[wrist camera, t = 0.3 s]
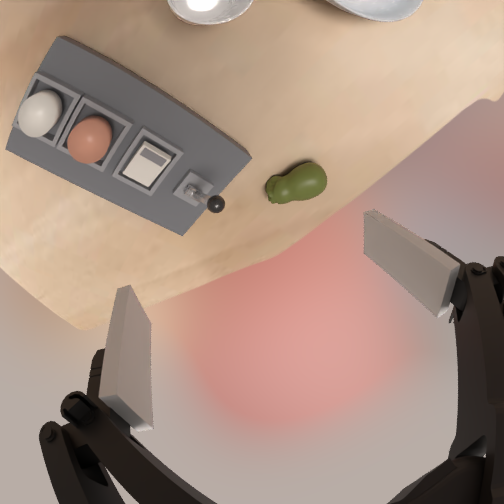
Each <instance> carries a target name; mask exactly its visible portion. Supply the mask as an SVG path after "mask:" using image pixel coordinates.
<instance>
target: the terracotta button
mask: <svg viewBox="0 0 504 504" xmlns="http://www.w3.org/2000/svg"><path fill="white" fill-rule="evenodd" d="M111 140H112V128H111V126H110V124H109V122H108V121H107V120H106V119H104V118H103V117H100V116H94V115H93V116H88V117H85V118H84V119H82V120H81V121H80V122H79V123H78V124H77V125H76V126H75V127H74V129H73V130H72V131H71V133H70V134H69V137H68V142H67V145H68V150H69V153H70V154H71V156H72V157H73V158H74V159H75V160H77V161H78V162H81V163H85V164H90V163H94V162H97V161H98V160H100V159H101V158H102V157H103V156H104V155H105V153H106V152H107V149H108V147H109V145H110V143H111Z"/></svg>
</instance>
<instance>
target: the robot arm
mask: <svg viewBox="0 0 504 504" xmlns="http://www.w3.org/2000/svg"><path fill="white" fill-rule="evenodd" d="M364 254H365V255H366V256H368V257H369V258H370V259H371V260H373V261H374V262H375V263H376V264H377V265H378V266H380V267H381V268H382V269H383V270H384V271H385V272H386V273H388V274H389V275H390V276H391V277H392V278H393V279H395V280H396V281H397V282H398V283H399V284H400V285H402V287H404V288H405V289H406V290H407V291H408V292H409V293H410V294H411V295H413V296H414V297H415V298H416V299H417V300H418V301H419V302H420V303H421V304H422V305H423V306H425V307H426V308H427V309H428V310H429V311H430V312H431V313H432V314H433V315H434V316H435V317H436V318H438V317H440V316H441V315H443V314H444V313H446V312H447V310H448V307H449V304H450V302H451V303H452V304H453V305H454V307H453V310H452V313H451V316H450V319H449V323H451V321H452V318H453V317H454V322H453V323H454V325H455V335H456V346H457V359H458V360H457V361H458V415H457V430H456V436H455V439H454V441H453V443H452V445H451V448H450V451H449V456H448V459H447V460H446V461H444V462H443V463H442V464H440V465H439V466H437V467H436V468H434V469H433V470H431V471H430V472H428V473H427V474H425V475H423V476H422V477H421V478H419V479H418V480H416V481H415V482H413V483H412V484H410V485H409V486H407V487H405V488H404V489H403V490H402V491H401V492H400V493H399V494H397V495H396V496H395V497H394V498H393V499H392V500H391V501H390V502H389V503H387V504H504V257H503V256H499V257H496V258H495V260H494V264H493V266H491V267H487V268H486V267H484V266H483V265H481V264H479V263H474V262H472V263H469V264H465V263H464V262H462V261H461V260H460V259H458V258H457V257H455V256H454V255H452V254H451V253H449V252H447V251H446V250H445V249H443V248H441V247H440V246H439V245H438V244H436V243H434V242H432V241H429V240H426V239H422V238H421V237H419V236H418V235H416V234H415V233H413V232H411V231H410V230H408V229H407V228H405V227H403V226H402V225H400V224H398V223H397V222H395V221H393V220H392V219H390V218H388V217H387V216H385V215H383V214H382V213H380V212H378V211H376V210H375V209H373V210H370V211H366V212H364ZM89 376H90V378H89V382H88V388H87V395H85V394H84V393H83V392H80V391H75V392H71V393H70V394H68V395H67V396H66V397H65V399H64V400H63V402H62V404H61V414H62V417H64V418H65V419H66V420H67V421H68V422H70V423H68V424H66V425H63V426H60V425H59V424H57V423H56V422H53V421H50V422H47V423H46V424H45V425H43V427H42V428H41V430H40V434H39V441H40V445H41V449H42V453H43V457H44V460H45V464H46V467H47V471H48V474H49V476H50V480H51V483H52V486H53V489H54V491H55V494H56V497H57V499H58V502H59V504H125V503H124V501H123V499H122V498H121V496H120V495H119V493H118V491H117V489H116V487H115V485H114V483H113V482H112V480H111V478H110V476H109V474H108V472H107V470H106V468H107V469H108V471H109V472H110V473H111V474H112V475H113V476H114V478H115V479H116V480H117V481H118V482H119V483H120V484H121V485H122V486H123V488H124V489H125V490H126V491H127V492H128V493H129V494H130V495H131V496H132V497H133V498H134V499H135V500H136V501H137V502H138V503H139V504H217V503H215V502H213V501H212V500H211V499H209V498H208V497H206V496H205V495H203V494H202V493H200V492H199V491H198V490H196V489H195V488H194V487H192V486H191V485H189V484H188V483H187V482H185V481H184V480H183V479H181V478H180V477H179V476H178V475H176V474H175V473H174V472H173V471H172V470H170V469H169V468H168V467H167V466H166V465H164V464H163V463H162V462H161V461H160V460H159V459H157V458H156V457H155V456H154V455H153V454H152V453H151V452H149V451H148V450H147V449H146V448H145V447H144V446H143V445H142V444H141V443H140V442H139V441H138V440H137V439H136V438H135V437H134V436H133V435H131V434H130V426H131V427H133V428H134V429H135V430H136V431H144V430H151V429H154V428H153V412H152V392H151V322H150V320H149V319H148V317H147V315H146V313H145V311H144V309H143V308H142V306H141V304H140V302H139V300H138V298H137V296H136V295H135V293H134V291H133V289H132V287H131V285H128V286H125V287H121V288H118V289H117V293H116V297H115V302H114V306H113V311H112V316H111V320H110V326H109V331H108V336H107V342H106V347H105V349H100V350H97V352H96V354H95V355H94V357H93V360H92V364H91V371H90V375H89ZM485 454H486V458H484V457H483V456H484V455H485ZM105 467H106V468H105Z"/></svg>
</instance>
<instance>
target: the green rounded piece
mask: <svg viewBox="0 0 504 504" xmlns="http://www.w3.org/2000/svg"><path fill="white" fill-rule="evenodd" d="M266 185H267V187H266V192H267V194H268V199H269V201H271V203H272V204H274V203H278V204H285V203H288V202H290V201H294V200H298V201H303V200H308V199H311V198H314V197H316V196H318V195H319V194H321V193H322V192H323V191H324V190H325V188H326V185H327V176H326V173H325V171H324V170H323V168H322V167H321V166H319V165H318V164H316V163H311V162H309V163H304V164H302V165H299V166H298V167H296V168H295V169H293V170H292V171H291V172H290V173H289V174H287V175H285V176H283V177H281V176H273V177H271V179H270V180H268V181H267V184H266Z"/></svg>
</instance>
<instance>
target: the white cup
mask: <svg viewBox="0 0 504 504" xmlns="http://www.w3.org/2000/svg"><path fill="white" fill-rule="evenodd" d="M167 1H168V4H169V7H170V9H171V11H172V12H173V14H174V15H175V16H176V17H177V18H178V19H180V20H181V21H183V22H185V23H188V24H192V25H213V24H220V23H224V22H228V21H230V20H233V19H235V18H237V17H238V16H240V15H241V14H243V13H244V12H245V11H246V10H247V9H248V8H249V7H250V5H251V4H252V2H253V0H167Z"/></svg>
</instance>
